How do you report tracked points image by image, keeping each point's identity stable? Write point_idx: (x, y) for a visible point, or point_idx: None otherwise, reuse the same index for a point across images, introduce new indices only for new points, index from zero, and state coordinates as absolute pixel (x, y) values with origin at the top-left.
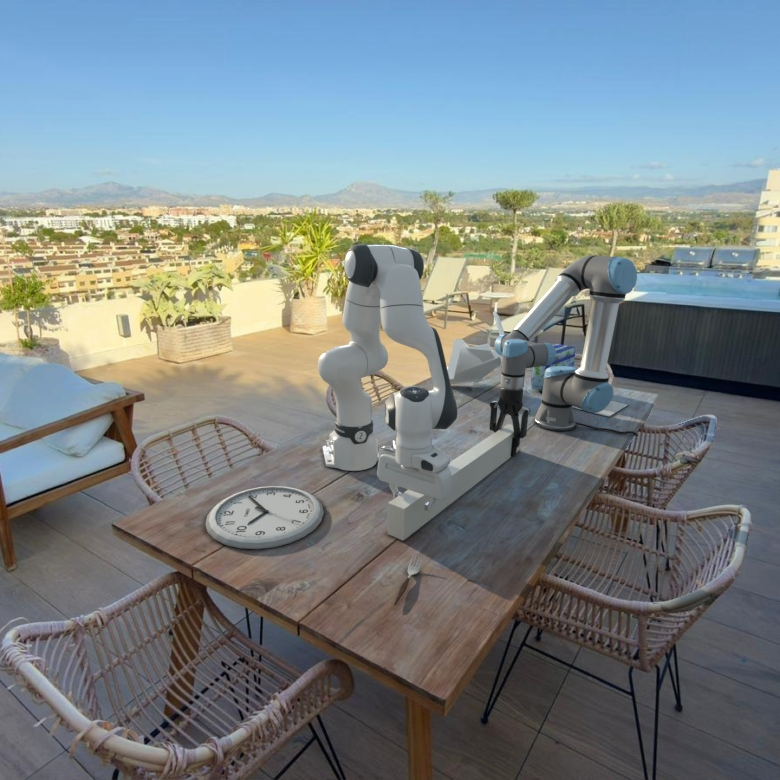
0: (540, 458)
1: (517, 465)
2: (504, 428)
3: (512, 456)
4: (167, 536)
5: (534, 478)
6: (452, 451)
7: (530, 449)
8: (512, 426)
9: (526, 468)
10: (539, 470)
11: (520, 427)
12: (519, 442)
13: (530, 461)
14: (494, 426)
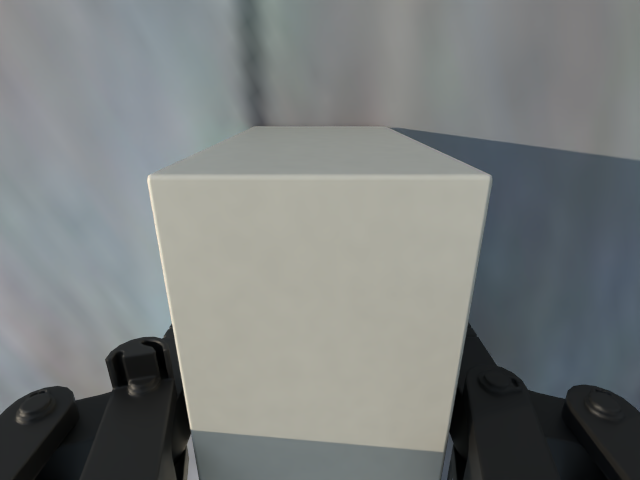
0: (602, 165)
1: None
2: (237, 443)
3: None
4: None
5: None
6: None
7: (473, 11)
8: (305, 278)
9: (528, 381)
10: (616, 360)
11: (480, 226)
12: (476, 345)
13: (532, 270)
14: (58, 461)
